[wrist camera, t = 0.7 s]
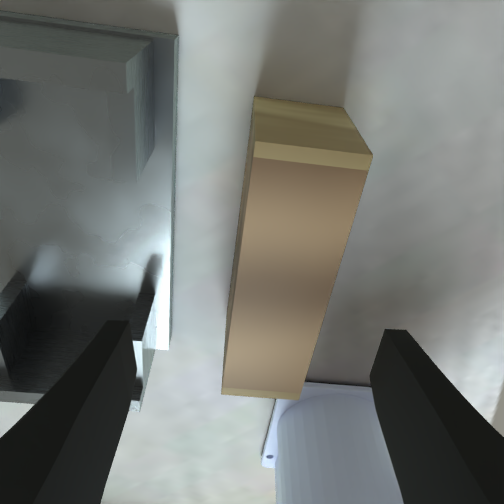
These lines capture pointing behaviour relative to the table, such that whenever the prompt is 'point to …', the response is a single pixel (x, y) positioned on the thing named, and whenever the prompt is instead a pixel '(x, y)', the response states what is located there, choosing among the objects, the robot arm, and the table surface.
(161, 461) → the table surface
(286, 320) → the brown wooden block
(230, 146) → the table surface
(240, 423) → the table surface
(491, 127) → the table surface
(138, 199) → the brackets
